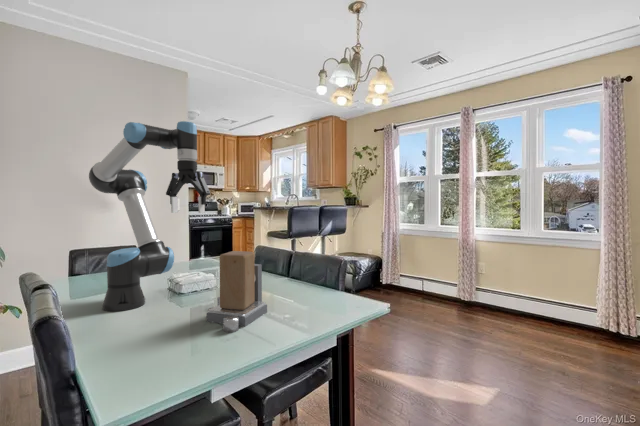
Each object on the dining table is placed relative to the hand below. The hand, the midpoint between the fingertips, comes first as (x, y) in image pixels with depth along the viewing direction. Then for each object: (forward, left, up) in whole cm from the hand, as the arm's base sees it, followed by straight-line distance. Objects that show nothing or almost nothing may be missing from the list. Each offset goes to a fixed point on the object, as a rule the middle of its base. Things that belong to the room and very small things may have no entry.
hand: (187, 212), depth 135 cm
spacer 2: (+31, -16, -39) cm, 52 cm away
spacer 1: (+14, +4, -39) cm, 41 cm away
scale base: (+26, -2, -39) cm, 47 cm away
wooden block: (+26, -4, -35) cm, 44 cm away
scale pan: (+26, -4, -38) cm, 47 cm away
